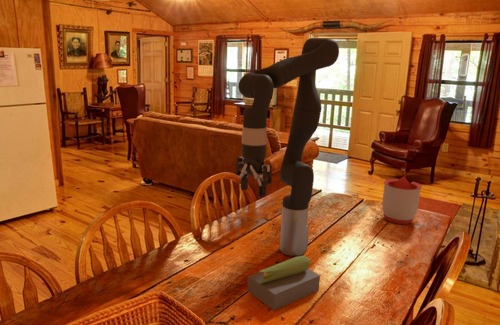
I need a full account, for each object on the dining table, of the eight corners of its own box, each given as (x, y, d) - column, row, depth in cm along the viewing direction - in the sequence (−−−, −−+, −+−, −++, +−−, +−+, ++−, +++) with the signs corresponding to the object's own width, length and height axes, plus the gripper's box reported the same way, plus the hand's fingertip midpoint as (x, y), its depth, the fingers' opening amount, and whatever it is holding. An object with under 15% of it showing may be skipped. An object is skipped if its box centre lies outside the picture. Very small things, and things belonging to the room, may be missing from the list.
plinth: (291, 273, 132) (292, 259, 130) (318, 290, 123) (320, 275, 121) (247, 291, 121) (248, 275, 120) (273, 310, 112) (274, 294, 111)
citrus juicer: (420, 217, 186) (426, 175, 181) (412, 229, 171) (419, 184, 166) (385, 210, 194) (390, 169, 189) (375, 221, 179) (380, 177, 174)
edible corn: (316, 259, 122) (307, 249, 125) (260, 277, 112) (252, 266, 115) (312, 272, 124) (303, 262, 128) (257, 291, 114) (249, 279, 117)
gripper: (279, 144, 118) (277, 197, 122) (249, 137, 129) (247, 185, 133) (260, 147, 114) (258, 202, 118) (230, 139, 124) (229, 189, 128)
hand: (252, 193), depth 125 cm, fingers open, 8 cm apart
